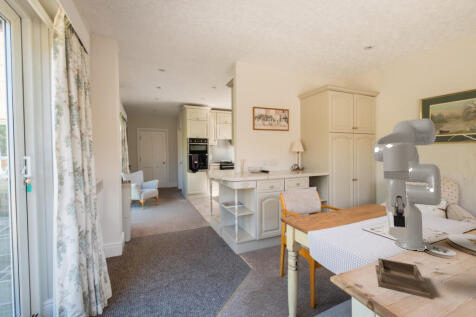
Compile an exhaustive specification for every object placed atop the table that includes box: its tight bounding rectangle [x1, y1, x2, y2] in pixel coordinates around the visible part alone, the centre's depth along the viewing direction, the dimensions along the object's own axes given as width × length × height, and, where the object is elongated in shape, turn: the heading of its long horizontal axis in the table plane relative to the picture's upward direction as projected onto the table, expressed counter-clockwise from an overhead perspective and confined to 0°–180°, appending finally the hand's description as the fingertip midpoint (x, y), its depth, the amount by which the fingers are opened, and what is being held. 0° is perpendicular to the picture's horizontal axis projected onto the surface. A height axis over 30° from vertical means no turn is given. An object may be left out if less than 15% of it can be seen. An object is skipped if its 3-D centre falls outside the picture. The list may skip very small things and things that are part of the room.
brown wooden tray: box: [375, 257, 432, 300], centre depth 75 cm, size 14×14×5 cm
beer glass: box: [385, 194, 409, 239], centre depth 75 cm, size 7×7×15 cm
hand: (397, 223), depth 75 cm, fingers closed on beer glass, 6 cm apart
